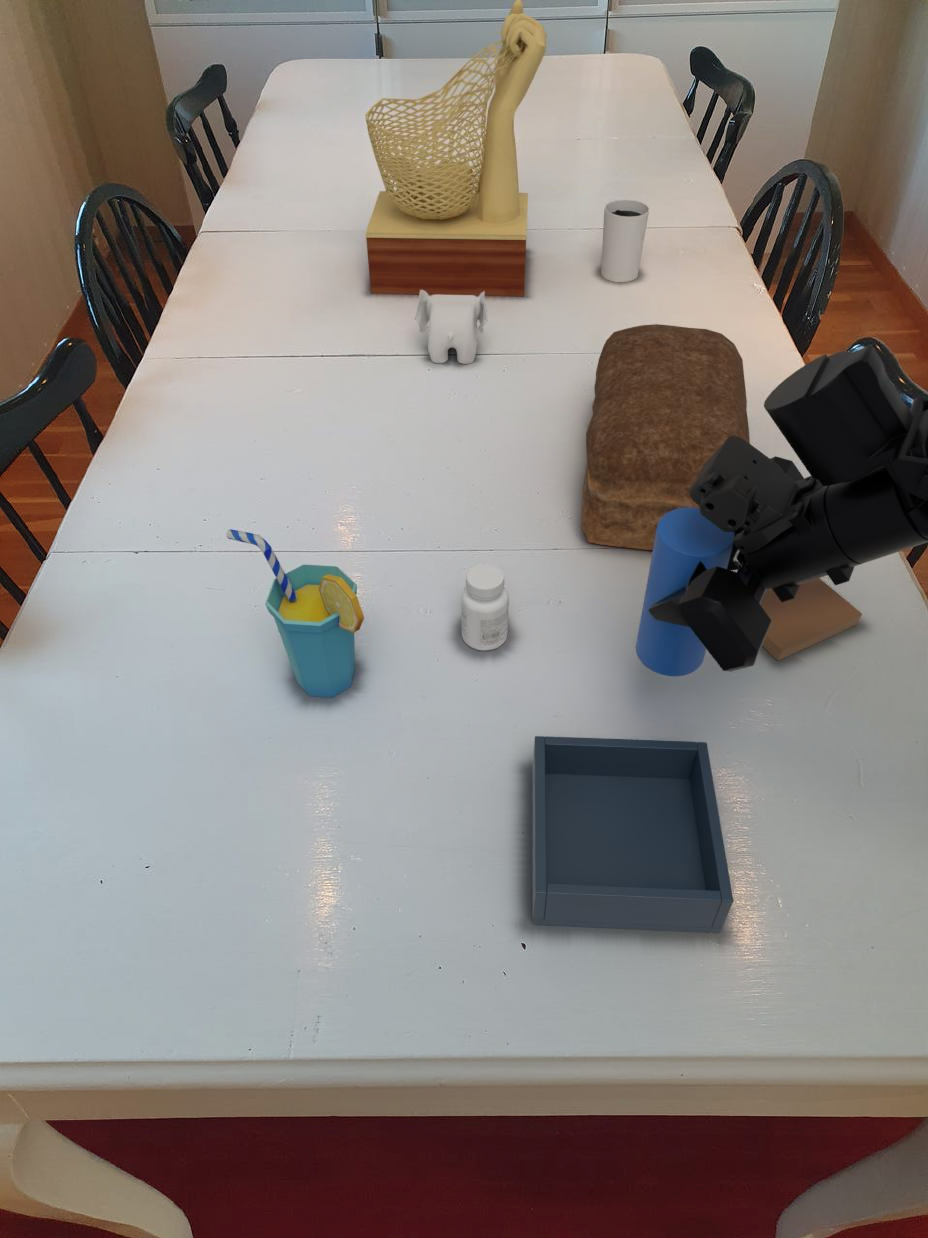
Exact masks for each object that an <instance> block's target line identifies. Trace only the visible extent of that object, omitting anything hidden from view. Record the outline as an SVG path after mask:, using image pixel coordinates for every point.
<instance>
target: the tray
mask: <svg viewBox="0 0 928 1238" xmlns="http://www.w3.org/2000/svg"><path fill="white" fill-rule="evenodd" d="M712 771H713V770H712V765H711V759H710V755H709V749H708V743H707V742H706V741H686V740H661V739H659V740H654V739H632V738H631V739H630V738H629V739H627V738H602V737H601V738H600V737H577V736H576V737H575V736H549V735H547V736H543V735H542V736H541V735H535V736H534V743H533V757H532V769H531V772H532V773H531V777H532V778H531V817H532V818H531V826H532V827H531V832H532V833H531V835H532V836H531V840H532V841H531V843H532V844H531V846H532V847H531V851H532V852H531V856H532V857H531V871H532V873H531V874H532V875H531V879H532V880H531V881H532V882H531V890H532V892H531V893H532V895H531V896H532V899H531V904H532V905H531V906H532V907H531V912H532V913H531V917H532V919H531V920H532V923H531V924H532V925H535V926H559V927H576V928H577V927H581V928H600V929H601V928H603V929H623V930H647V931H667V932H669V931H670V932H691V933H710V934H711V933H714V934H720V933H721V932H722V930H723V927H724V925H725V922H726V920H727V918H728V916H729V913H730V910H731V908H732V906H733V903H734V897H733V890H732V884H731V879H730V873H729V867H728V861H727V854H726V850H725V849H726V848H725V842H724V836H723V830H722V825H721V820H720V813H719V807H718V800H717V796H716V790H715V783H714V777H713V772H712Z"/></svg>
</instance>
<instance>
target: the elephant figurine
mask: <svg viewBox="0 0 928 1238" xmlns="http://www.w3.org/2000/svg"><path fill="white" fill-rule="evenodd" d="M486 303H487V302H486V296H485V291H483V292H482V293H481V294H480V295H479V296H478V295H439V294H435V295H428V293H427V292H426V291H424V290H420V294H418V301H417V306H416V312H415V315H414V321H415V322H416V324H417V325H418V326H419V332H420V333H426V332H427V330H428V339H427V350H428V355H429V357H430V360H431V362H433V363H434V364H444V363H446V362H448V360H449V349H450V348H452V349H453V348H454V350H456V360H457V362H458V363H460V364H462V365H465V364H467V365H468V364H471V363H473V362H474V361H475V359H476V355H477V344H478V340H479V333H480V334H481V335H482V334H484V331H485V330H484V327H485V326H486V325H487V324H488V320H489V318H488V313H487V311H488V310H487V304H486ZM478 323H479V326H478Z"/></svg>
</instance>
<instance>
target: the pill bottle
mask: <svg viewBox="0 0 928 1238" xmlns="http://www.w3.org/2000/svg"><path fill="white" fill-rule="evenodd" d="M509 605H510V596H509V593H508V590H507V589H506V587H505V574H504V571H503V570H502V569H501V568H500V567H499V566H497V565H495V564H490V563H479V564H475V565H473V566H471V567H470V568H469V569H468V570H467V572H466V575H465V587H464V588H463V590H462V591H461V596H460V615H461V616H460V617H461V619H460V621H461V623H460V624H461V638H462V639H463V642H464V643H465V644H466V645H467V646H469V647H470V648H472V649H474V650H478V651H491V650H495V649H497V648H499V647H501V646H502V645H503V644H504V643H505V642H506V640H507V638H508V633H509V632H508V630H509Z"/></svg>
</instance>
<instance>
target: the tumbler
mask: <svg viewBox="0 0 928 1238" xmlns="http://www.w3.org/2000/svg"><path fill="white" fill-rule="evenodd" d="M734 538H735V533H734V532H724V531H722V530H721V529H720V528H718V527H717V526H716V525H714V524H713V523H712V522H710V521H709V520H708V519H706V518H705V517H704V516H702V515H701V514H700V511H699V508H691V507H689V508H679V509H675V510H672V511H670V512H668V513H666V514H665V515H664V516H663V517H662V518H661V519H660V520H659V522H658V525H657V530H656V536H655V541H654V547H653V550H652V553H651V559H650V565H649V569H648V576H647V583H646V588H645V593H644V598H643V603H642V610H641V615H640V619H639V620H640V621H639V627H638V630H637V631H638V632H637V638H636V643H635V653H636V655H637V658H638V659H639V661H640V662H641V664H642V665H644V667H646V668H647V669H648V670H650V671H652V672H654V673H656V674H659V675H661V676H666V677H684V676H687V675H690V674H692V673H695V671H697V670H698V669H699V668H700V667H701V666H702V664H703V662H704V659H705V655H706V652H707V651H706V650H707V649H706V648H705V646H704V645H703V644H702V642H701V641H700V640H699V639H698V637H697V636H696V635H695V633H694V632H693V631H692V629H691V628H690V627H686V626H681V625H677V624H672V623H668V622H663V621H658V620H655V619H654V618H653V617H652V615H651V614H650V613H649V611H648V609H649V608H650V606H652V605H653V604H655V603H657V602H658V601H660V600H661V599H663V598H665V597H667V596H669V595H671V594H673V593H674V592H676V591H678V590H680V589H682V588H684V587H686V586H687V583H688V581H689V579H690V577H691V575H692V574H693V572H694V570H695V568H696V566H697V564H698V563H699V561H701V562H702V563H703V565H704V566H705V567H706V569H707V570H708V569H711V568H714V567H716V566H719V567H722V568H725V569H727V567H728V563H729V559H730V555H731V551H732V547H733V540H734Z"/></svg>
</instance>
